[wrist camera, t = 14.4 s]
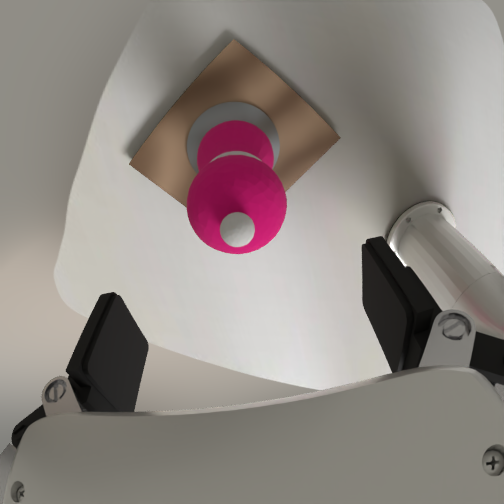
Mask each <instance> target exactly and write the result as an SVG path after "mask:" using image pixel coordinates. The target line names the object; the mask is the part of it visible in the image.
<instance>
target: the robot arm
mask: <svg viewBox="0 0 504 504" xmlns="http://www.w3.org/2000/svg"><path fill="white" fill-rule="evenodd" d="M362 300H363V306H364V309H365V312H366V314H367V316H368V318H369V320H370V323H371V325H372V327H373V329H374V331H375V334H376V336H377V338H378V340H379V343H380V345H381V347H382V350H383V352H384V354H385V357H386V359H387V361H388V364H389V366H390V368H391V371H392V373H391V374H387V375H383V376H379V377H375V378H371V379H368V380H364V381H360V382H356V383H351V384H347V385H343V386H338V387H334V388H330V389H325V390H321V391H316V392H311V393H306V394H301V395H296V396H291V397H285V398H279V399H273V400H267V401H261V402H254V403H246V404H239V405H231V406H222V407H212V408H202V409H190V410H174V411H152V412H134V409H135V405H136V400H137V395H138V391H139V386H140V382H141V378H142V374H143V369H144V365H145V361H146V357H147V352H148V342H147V340H146V338H145V337H144V335H143V333H142V332H141V330H140V329H139V327H138V325H137V324H136V322H135V320H134V319H133V317H132V315H131V313H130V312H129V310H128V308H127V307H126V305H125V303H124V301H123V299H122V298H121V296H120V295H117V294H116V293H115V292H111V293H106V294H102V295H100V297H99V299H98V301H97V303H96V305H95V307H94V309H93V311H92V313H91V315H90V317H89V319H88V321H87V324H86V326H85V328H84V330H83V332H82V334H81V336H80V339H79V341H78V343H77V345H76V347H75V350H74V352H73V354H72V357H71V359H70V361H69V364H68V366H67V369H66V372H67V373H68V374H69V376H68V379H67V378H66V377H63V376H59V377H55V378H53V379H52V380H50V381H49V382H48V383H47V384H46V386H45V387H44V389H43V391H42V403H43V405H41V406H40V407H39V408H38V409H36V410H35V411H34V412H33V413H31V414H30V415H29V416H27V417H26V418H25V419H23V420H22V421H21V422H20V423H19V424H18V425H16V426H15V428H14V430H13V433H12V444H13V445H11V444H10V443H9V444H8V445H7V447H6V448H5V449H4V451H3V452H2V453H1V454H0V504H504V275H503V274H502V273H501V272H500V271H499V270H498V269H497V268H496V267H495V266H494V265H493V264H492V263H491V262H490V261H489V260H488V259H487V258H486V257H485V256H484V255H483V254H482V253H481V252H480V251H479V250H478V249H477V248H476V247H475V246H474V245H473V244H472V243H470V242H469V241H468V240H467V239H466V238H465V237H464V236H463V235H462V234H461V233H460V232H459V231H457V230H456V221H455V218H454V216H453V214H452V213H451V211H450V210H449V209H448V208H446V207H445V206H444V205H442V204H440V203H437V202H431V201H427V202H422V203H419V204H417V205H414V206H413V207H411V208H409V209H408V210H407V211H405V212H404V213H403V214H402V215H401V216H400V217H399V218H398V220H397V221H396V222H395V224H394V225H393V227H392V229H391V231H390V233H389V236H388V239H387V242H386V241H385V240H384V238H383V237H382V236H379V237H375V238H370V239H367V240H366V244H363V245H362Z"/></svg>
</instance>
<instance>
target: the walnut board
mask: <svg viewBox="0 0 504 504" xmlns="http://www.w3.org/2000/svg"><path fill="white" fill-rule="evenodd" d="M232 120H239V121H245V122H248V123H251V124H253V125H255V126H257V127H258V128H260V129H261V130H262V131H263V132H264V133H265V134H266V136H267V137H268V138H269V140H270V142H271V145H272V148H273V154H274V164H273V168H272V170H273V171H274V172H275V173H276V174H277V176H278V177H279V179H280V180H281V182H282V184H283V187H284V190H285V192H286V191H287V190H288V189H289V188H290V187H291V186H292V185H293V184H294V183H295V182H296V181H297V180H298V179H299V178H300V177H301V176H302V175H303V174H304V173H305V172H306V171H307V170H308V169H309V168H310V167H311V166H312V165H313V164H314V163H315V162H316V161H317V160H318V159H319V158H320V157H321V156H323V155H324V154H325V153H326V152H327V151H328V150H329V149H330V148H331V147H332V146H333V145H334V144H335V143H336V142H337V141H338V140H339V139H340V136H339V135H338V134H337V133H336V132H335V131H334V130H333V129H332V128H331V127H330V126H329V125H328V124H327V123H326V122H325V121H324V120H323V119H322V118H321V117H320V116H319V115H318V114H317V113H316V112H315V111H314V110H313V109H312V108H311V107H310V106H309V105H308V104H307V103H306V102H305V101H304V100H303V99H302V98H301V97H300V96H299V95H298V94H297V93H296V92H295V91H294V90H293V89H292V88H291V87H290V86H288V85H287V84H286V83H285V82H284V81H283V80H282V79H281V78H280V77H279V76H277V75H276V74H275V73H274V72H273V71H272V70H271V69H269V68H268V67H267V66H266V65H265V64H264V63H263V62H261V61H260V60H259V59H258V58H257V57H255V56H254V55H253V54H252V53H251V52H249V51H248V50H247V49H246V48H244V47H243V46H242V45H241V44H239V43H238V42H237V41H236V40H234V39H233V40H232V41H231V42H230V43H229V44H228V45H227V46H226V47H225V48H224V49H223V50H222V51H221V53H220V54H219V55H218V56H217V57H216V58H215V59H214V60H213V61H212V62H211V63H210V64H209V65H208V66H207V67H206V68H205V69H204V71H203V72H202V73H201V74H200V75H199V76H198V77H197V78H196V79H195V80H194V82H193V83H192V84H191V85H190V86H189V87H188V88H187V90H186V91H185V92H184V93H183V94H182V95H181V97H180V98H179V99H178V100H177V101H176V103H175V104H174V105H173V106H172V107H171V109H170V110H169V111H168V112H167V114H166V115H165V116H164V117H163V119H162V120H161V121H160V122H159V124H158V125H157V126H156V128H155V129H154V130H153V132H152V133H151V134H150V135H149V137H148V138H147V139H146V141H145V142H144V144H143V145H142V146H141V148H140V149H139V150H138V152H137V153H136V155H135V156H134V157H133V159H132V160H131V162H130V163H129V165H131V166H132V167H133V168H135V169H136V170H137V171H139V172H140V173H141V174H143V175H144V176H145V177H147V178H148V179H149V180H151V181H152V182H153V183H155V184H156V185H157V186H159V187H160V188H161V189H163V190H164V191H165V192H167V193H168V194H169V195H171V196H172V197H173V198H175V199H176V200H177V201H179V202H180V203H181V204H183V205H184V206H185V207H187V197H188V191H189V188H190V186H191V183H192V181H193V179H194V178H195V176H196V175H197V174H198V173H199V170H198V166H197V153H198V148H199V145H200V142H201V140H202V138H203V137H204V136H205V134H206V133H207V132H208V131H209V130H210V129H211V128H213V127H215V126H216V125H218V124H220V123H223V122H226V121H232Z"/></svg>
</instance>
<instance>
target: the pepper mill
mask: <svg viewBox="0 0 504 504" xmlns="http://www.w3.org/2000/svg"><path fill="white" fill-rule="evenodd" d="M273 164H274V154H273V148H272V145H271V142H270V140H269V138H268V137H267V136H266V134H265V133H264V132H263V131H262V130H261V129H260V128H258V127H257V126H255V125H253V124H251V123H248V122H245V121H239V120H232V121H226V122H223V123H220V124H218V125H216V126H215V127H213V128H211V129H210V130H209V131H208V132H207V133H206V134H205V136H204V137H203V138H202V140H201V142H200V145H199V148H198V153H197V166H198V170H199V173H198V174H197V175H196V176H195V178H194V179H193V181H192V183H191V186H190V188H189V191H188V197H187V213H188V218H189V221H190V224H191V226H192V228H193V229H194V231H195V233H196V234H197V235H198V237H199V238H200V239H201V240H202V241H203V242H204V243H206V244H207V245H208V246H210V247H212V248H214V249H216V250H219V251H222V252H225V253H230V254H243V253H249V252H252V251H255V250H258V249H260V248H261V247H263V246H265V245H266V244H267V243H269V242H270V241H271V240H272V239H273V238H274V237H275V236H276V234H277V233H278V231H279V230H280V228H281V226H282V223H283V221H284V218H285V214H286V208H287V199H286V194H285V190H284V187H283V184H282V182H281V180H280V179H279V177H278V176H277V174H276V173H275V172H274V171H273V170H272V168H273Z"/></svg>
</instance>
